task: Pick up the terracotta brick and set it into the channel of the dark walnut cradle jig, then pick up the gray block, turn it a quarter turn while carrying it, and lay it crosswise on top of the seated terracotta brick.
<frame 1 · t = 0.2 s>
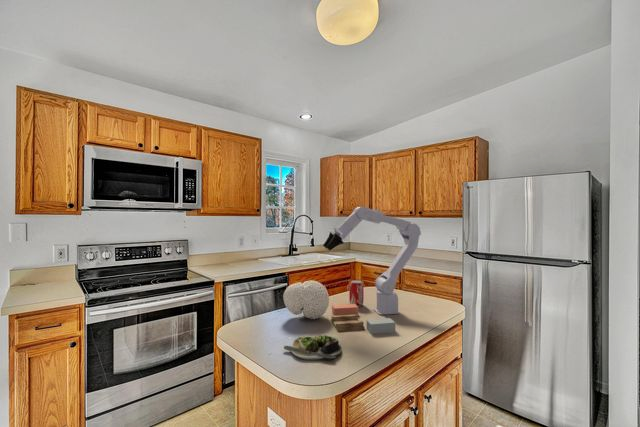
hand: (326, 248, 137), 30 cm above the counter, tool tilted 45°, fingers open, 7 cm apart
terracotta brick: (345, 314, 138), on the counter
soda can: (356, 305, 151), on the counter
salad plate: (318, 351, 102), on the counter
gray block: (380, 331, 119), on the counter
jig: (347, 324, 125), on the counter
white rounded lumpy piece: (306, 319, 132), on the counter
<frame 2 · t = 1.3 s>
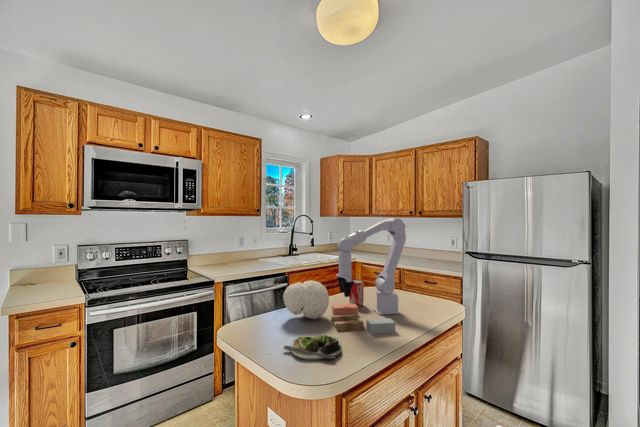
hand: (344, 294, 138), 9 cm above the counter, tool pointing down, fingers open, 7 cm apart
nothing on the counter moved.
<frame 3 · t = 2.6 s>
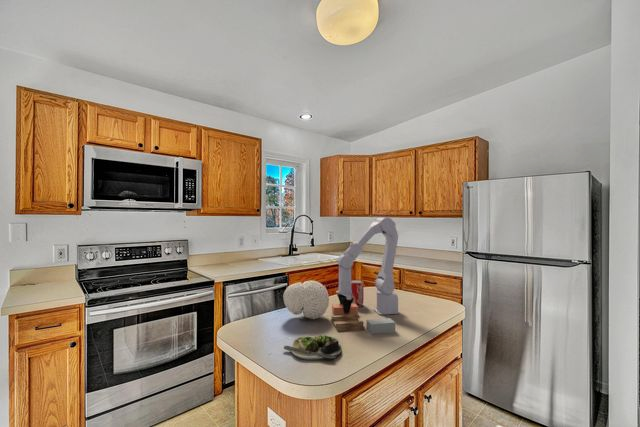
hand: (345, 311, 138), 1 cm above the counter, tool pointing down, fingers closed on terracotta brick, 5 cm apart
terracotta brick: (345, 314, 138), on the counter, touching gripper
everything else where it was.
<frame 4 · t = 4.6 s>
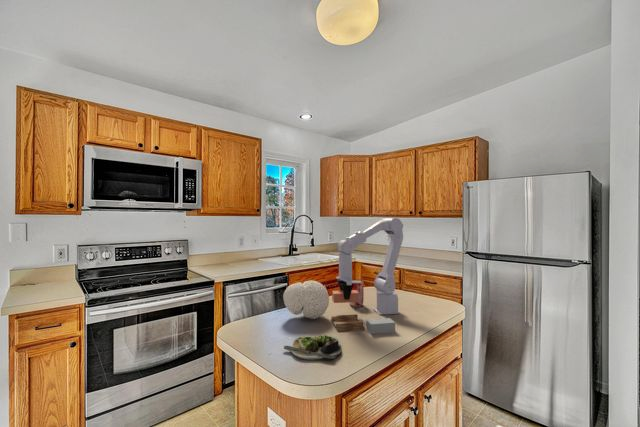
hand: (345, 297, 135), 8 cm above the counter, tool pointing down, fingers closed on terracotta brick, 5 cm apart
terracotta brick: (345, 300, 135), point 7 cm above the counter, touching gripper
everything else where it was.
when the fingers open (4 cm above the counter, at t = 6.7 s): terracotta brick drops 1 cm, resting on jig.
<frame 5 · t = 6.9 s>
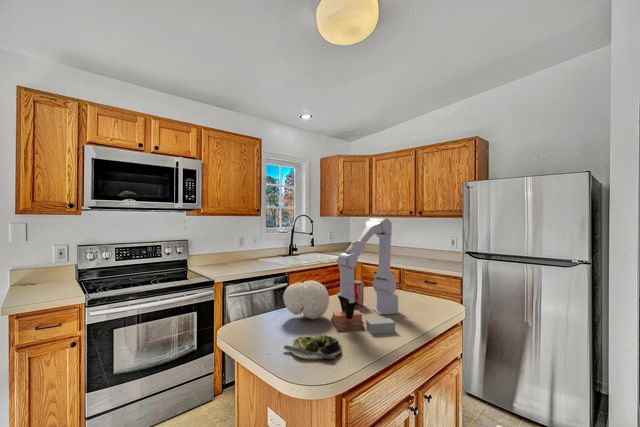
hand: (347, 315, 125), 4 cm above the counter, tool pointing down, fingers open, 7 cm apart
terracotta brick: (347, 322, 125), point 1 cm above the counter, touching jig
everything else where it was.
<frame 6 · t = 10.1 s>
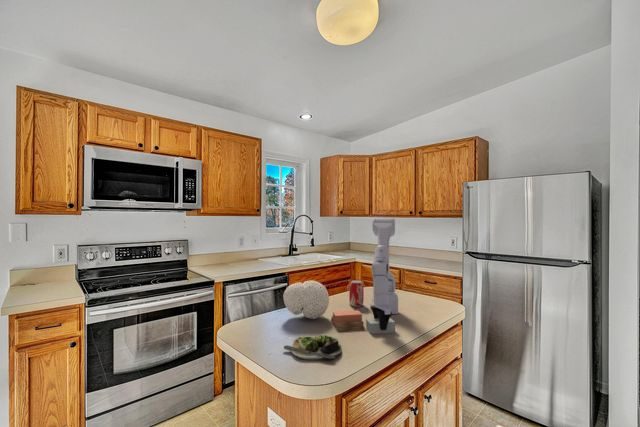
hand: (380, 326, 119), 1 cm above the counter, tool pointing down, fingers closed on gray block, 5 cm apart
gray block: (380, 330, 119), on the counter, touching gripper
everything else where it was.
when the fingers open (7 cm above the counter, at t = 14.0 s): gray block stays where it is, resting on terracotta brick.
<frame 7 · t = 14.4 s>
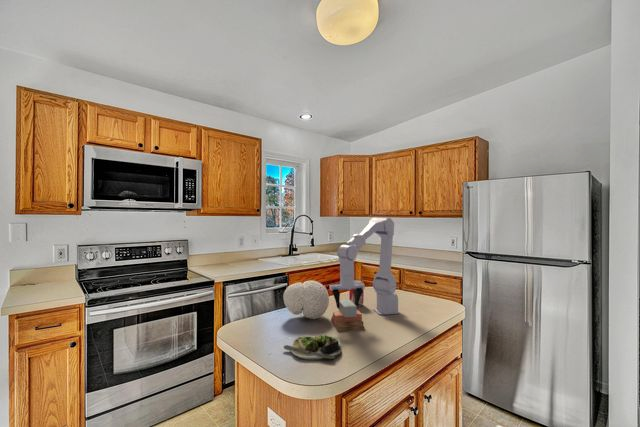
hand: (347, 307, 125), 7 cm above the counter, tool pointing down, fingers open, 7 cm apart
terracotta brick: (347, 322, 125), point 1 cm above the counter, touching jig, gray block
gray block: (347, 312, 125), point 5 cm above the counter, touching terracotta brick
everything else where it was.
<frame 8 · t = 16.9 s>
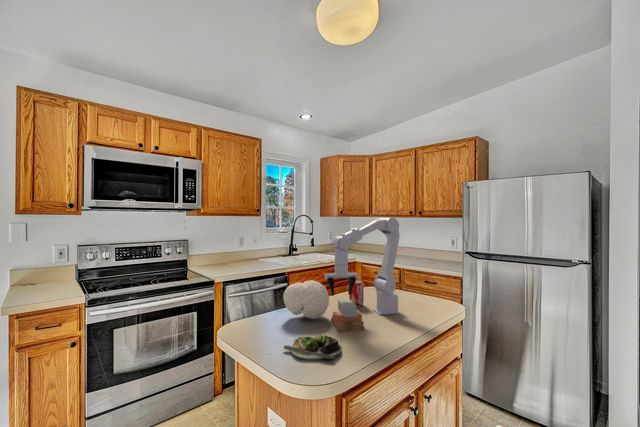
hand: (341, 294, 133), 10 cm above the counter, tool pointing down, fingers open, 7 cm apart
nothing on the counter moved.
at the end: terracotta brick 0.1 cm off-centre on the jig, point 1.0 cm above the jig's base; gray block 0.2 cm off-centre on the terracotta brick, point 4.0 cm above the terracotta brick's base; gray block tilted 0° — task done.
